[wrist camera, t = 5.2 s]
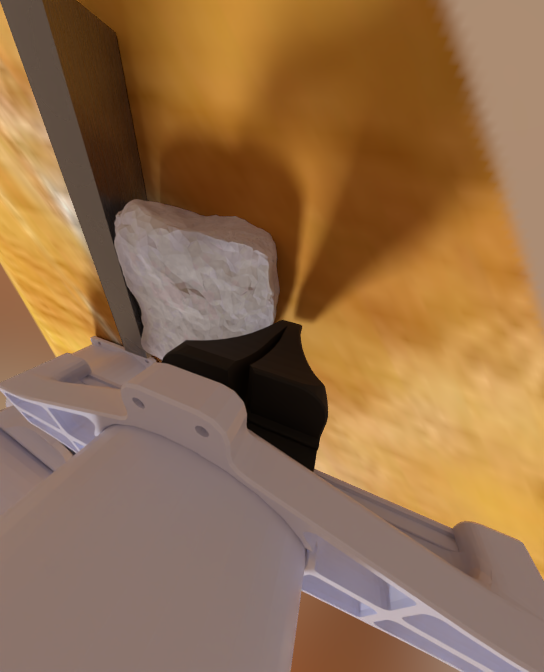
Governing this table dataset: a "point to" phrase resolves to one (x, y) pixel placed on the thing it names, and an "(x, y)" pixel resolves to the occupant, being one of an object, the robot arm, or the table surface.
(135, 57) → the table surface
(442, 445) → the table surface
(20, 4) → the bar
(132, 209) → the stone block
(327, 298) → the table surface
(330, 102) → the table surface
